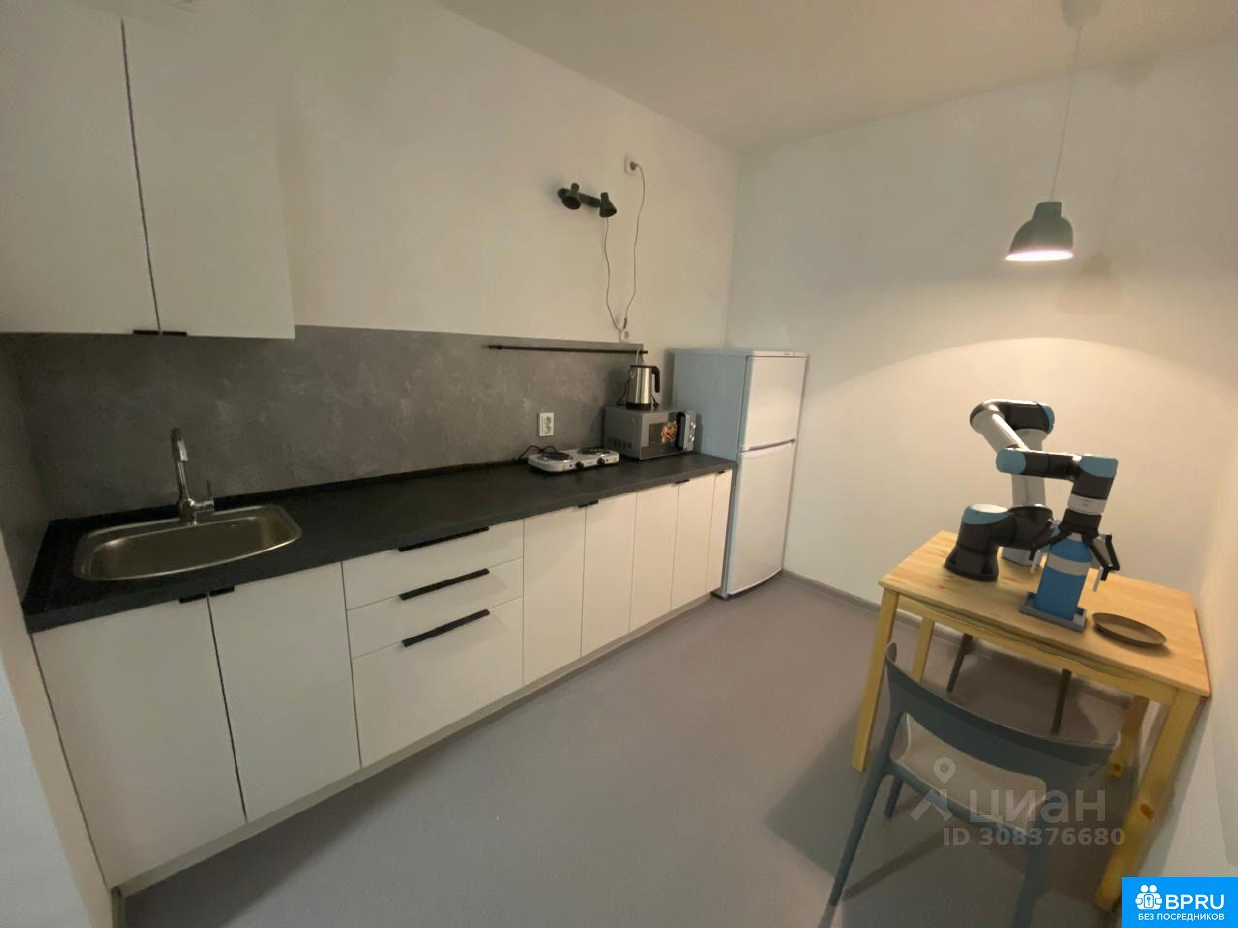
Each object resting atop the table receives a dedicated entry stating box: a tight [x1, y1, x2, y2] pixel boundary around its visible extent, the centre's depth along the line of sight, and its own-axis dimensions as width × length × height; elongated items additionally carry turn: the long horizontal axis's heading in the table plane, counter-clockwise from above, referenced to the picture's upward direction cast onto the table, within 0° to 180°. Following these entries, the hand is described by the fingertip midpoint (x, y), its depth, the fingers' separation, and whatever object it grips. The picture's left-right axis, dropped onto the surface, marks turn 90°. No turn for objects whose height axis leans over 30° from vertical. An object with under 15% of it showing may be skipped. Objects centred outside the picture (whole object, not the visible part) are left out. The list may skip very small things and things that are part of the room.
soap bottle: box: [1001, 547, 1045, 566], centre depth 178 cm, size 9×9×25 cm
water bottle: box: [1033, 532, 1094, 620], centre depth 141 cm, size 9×9×25 cm
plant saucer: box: [1090, 611, 1168, 647], centre depth 135 cm, size 15×15×3 cm
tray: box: [1018, 590, 1088, 634], centre depth 144 cm, size 14×14×2 cm
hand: (1062, 580), depth 141 cm, fingers open, 13 cm apart
